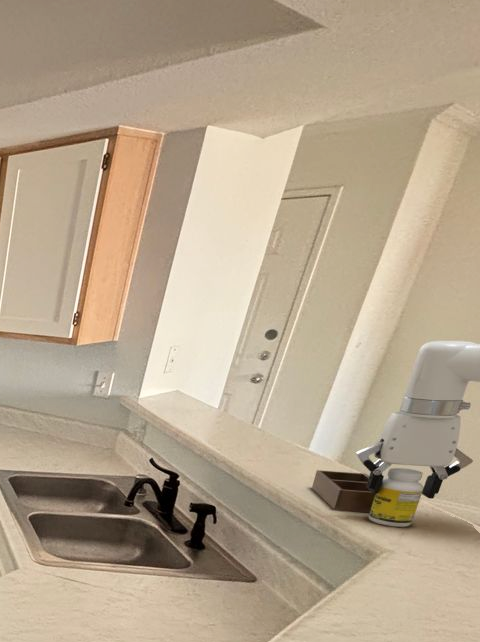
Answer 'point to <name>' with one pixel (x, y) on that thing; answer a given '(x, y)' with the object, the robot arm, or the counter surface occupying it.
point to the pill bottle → (397, 498)
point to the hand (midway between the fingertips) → (399, 493)
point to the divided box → (344, 490)
